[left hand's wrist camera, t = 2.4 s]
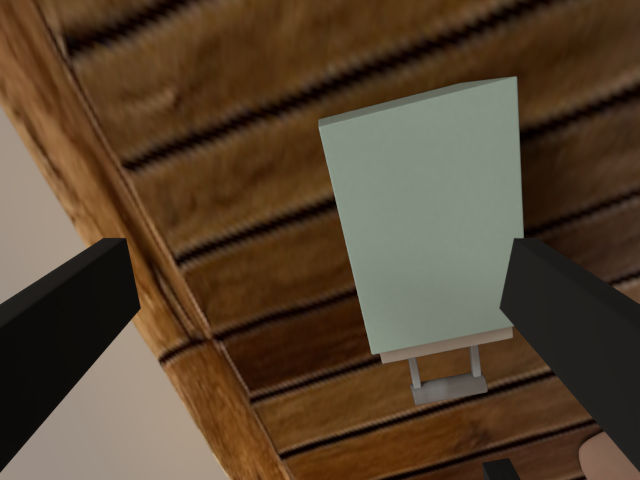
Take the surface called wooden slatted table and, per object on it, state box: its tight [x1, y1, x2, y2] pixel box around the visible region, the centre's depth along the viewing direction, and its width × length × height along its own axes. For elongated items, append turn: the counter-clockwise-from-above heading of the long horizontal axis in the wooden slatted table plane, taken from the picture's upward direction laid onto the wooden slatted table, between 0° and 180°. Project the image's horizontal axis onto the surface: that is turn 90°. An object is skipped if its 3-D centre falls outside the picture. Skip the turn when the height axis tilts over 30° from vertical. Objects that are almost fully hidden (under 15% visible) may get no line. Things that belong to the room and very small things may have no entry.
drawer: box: [380, 327, 513, 405], centre depth 28 cm, size 21×10×6 cm, turn 14°
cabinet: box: [319, 77, 524, 354], centre depth 26 cm, size 16×11×8 cm
